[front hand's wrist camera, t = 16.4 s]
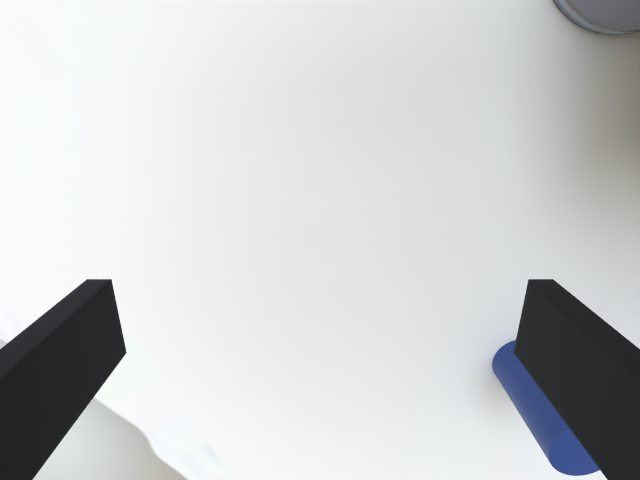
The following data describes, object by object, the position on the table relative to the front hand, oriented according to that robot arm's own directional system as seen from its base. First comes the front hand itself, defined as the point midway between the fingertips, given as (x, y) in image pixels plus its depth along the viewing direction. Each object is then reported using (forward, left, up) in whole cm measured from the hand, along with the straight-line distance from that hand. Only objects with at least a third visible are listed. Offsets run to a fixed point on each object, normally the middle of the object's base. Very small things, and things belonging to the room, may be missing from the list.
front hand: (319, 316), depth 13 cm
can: (-29, +15, -28) cm, 43 cm away
